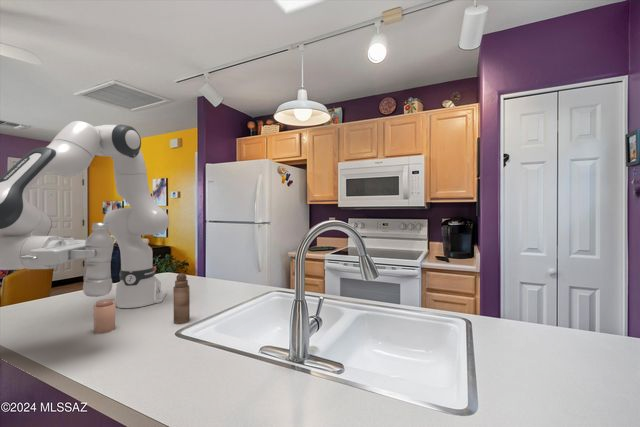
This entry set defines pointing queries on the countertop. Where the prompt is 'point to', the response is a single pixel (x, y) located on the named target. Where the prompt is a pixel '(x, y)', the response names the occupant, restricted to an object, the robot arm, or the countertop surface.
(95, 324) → the salt jar
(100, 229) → the plastic bottle
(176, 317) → the pepper mill
